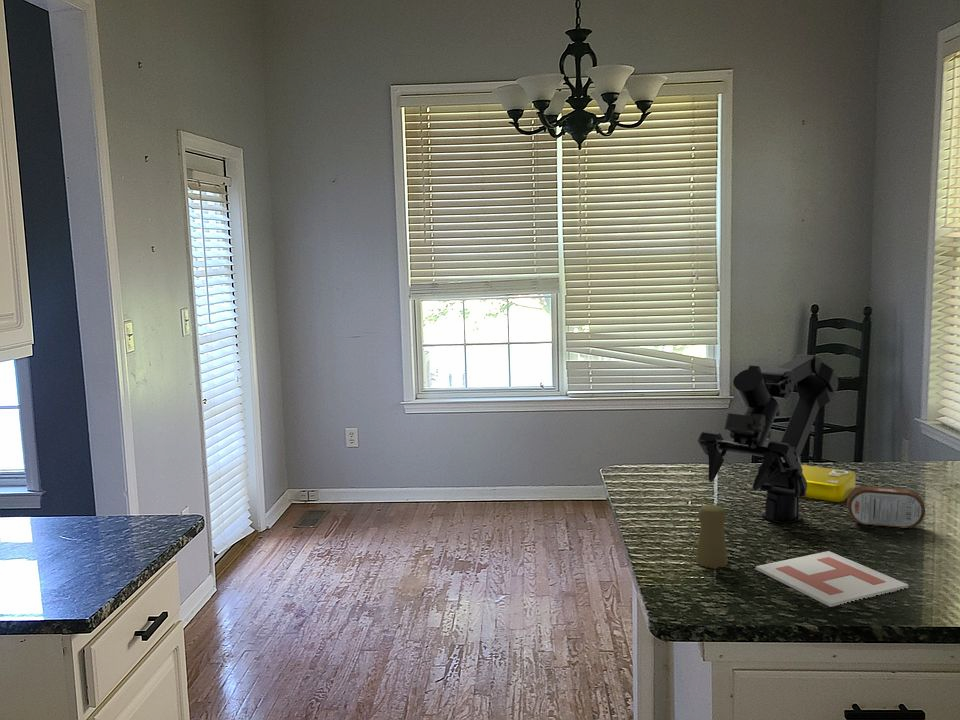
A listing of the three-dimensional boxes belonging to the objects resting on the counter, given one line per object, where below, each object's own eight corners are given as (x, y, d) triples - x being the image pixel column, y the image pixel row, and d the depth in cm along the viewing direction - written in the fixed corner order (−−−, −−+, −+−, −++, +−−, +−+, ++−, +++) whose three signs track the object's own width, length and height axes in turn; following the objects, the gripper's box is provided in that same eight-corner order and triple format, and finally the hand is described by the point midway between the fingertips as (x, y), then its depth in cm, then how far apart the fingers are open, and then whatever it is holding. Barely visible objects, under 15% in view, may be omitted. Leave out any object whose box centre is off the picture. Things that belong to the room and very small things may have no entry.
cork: (729, 568, 154) (730, 512, 153) (696, 567, 155) (697, 510, 154) (726, 557, 160) (727, 502, 159) (694, 555, 161) (695, 501, 160)
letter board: (828, 553, 161) (828, 550, 161) (908, 587, 144) (908, 584, 144) (755, 569, 154) (755, 565, 154) (830, 606, 137) (830, 602, 137)
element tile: (794, 479, 213) (795, 461, 212) (856, 489, 204) (857, 470, 203) (776, 494, 201) (777, 475, 200) (841, 504, 192) (842, 484, 192)
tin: (922, 527, 175) (924, 488, 174) (925, 531, 172) (927, 492, 171) (845, 520, 180) (847, 483, 179) (846, 525, 177) (848, 487, 176)
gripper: (702, 392, 170) (674, 455, 163) (792, 402, 157) (765, 471, 150) (719, 423, 176) (693, 485, 170) (807, 435, 164) (782, 502, 157)
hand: (731, 485), depth 162 cm, fingers open, 9 cm apart
